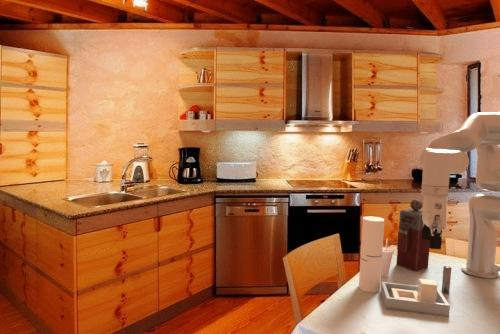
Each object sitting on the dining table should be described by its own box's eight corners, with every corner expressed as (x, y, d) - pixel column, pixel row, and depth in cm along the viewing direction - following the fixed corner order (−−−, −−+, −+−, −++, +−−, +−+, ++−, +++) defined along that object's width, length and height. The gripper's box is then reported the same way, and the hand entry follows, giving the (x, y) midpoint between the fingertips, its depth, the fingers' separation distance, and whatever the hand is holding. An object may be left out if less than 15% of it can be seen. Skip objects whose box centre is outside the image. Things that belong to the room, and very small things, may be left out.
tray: (437, 297, 124) (438, 287, 123) (449, 316, 111) (449, 305, 111) (380, 291, 128) (381, 281, 127) (386, 308, 115) (386, 298, 115)
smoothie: (393, 277, 140) (395, 241, 139) (375, 275, 141) (378, 240, 140) (390, 271, 146) (392, 236, 145) (373, 269, 148) (375, 235, 146)
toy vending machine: (392, 265, 152) (397, 199, 150) (408, 260, 159) (412, 196, 156) (412, 273, 145) (417, 203, 142) (428, 267, 152) (433, 200, 149)
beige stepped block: (437, 309, 114) (439, 287, 113) (394, 304, 117) (395, 283, 116) (431, 298, 122) (432, 278, 121) (390, 293, 125) (392, 273, 124)
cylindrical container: (377, 294, 125) (381, 222, 123) (356, 289, 129) (360, 219, 126) (382, 286, 131) (386, 218, 129) (361, 282, 135) (365, 215, 132)
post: (448, 291, 129) (450, 266, 128) (450, 294, 127) (452, 269, 126) (440, 290, 130) (442, 265, 129) (442, 293, 127) (444, 268, 126)
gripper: (456, 196, 106) (452, 254, 107) (440, 187, 122) (436, 237, 124) (428, 194, 107) (424, 251, 109) (415, 185, 124) (412, 235, 126)
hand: (430, 243), depth 116 cm, fingers open, 9 cm apart
